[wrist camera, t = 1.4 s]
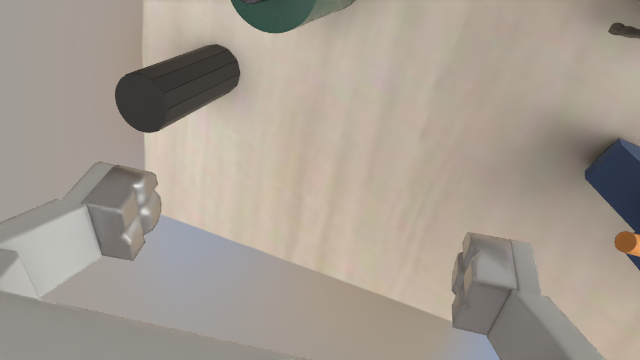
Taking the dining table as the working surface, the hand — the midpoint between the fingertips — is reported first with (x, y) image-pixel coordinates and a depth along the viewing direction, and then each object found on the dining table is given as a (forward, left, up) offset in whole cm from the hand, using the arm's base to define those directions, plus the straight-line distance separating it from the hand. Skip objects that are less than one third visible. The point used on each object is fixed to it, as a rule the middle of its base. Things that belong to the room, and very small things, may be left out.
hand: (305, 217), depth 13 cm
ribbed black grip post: (+16, -22, -39) cm, 48 cm away
